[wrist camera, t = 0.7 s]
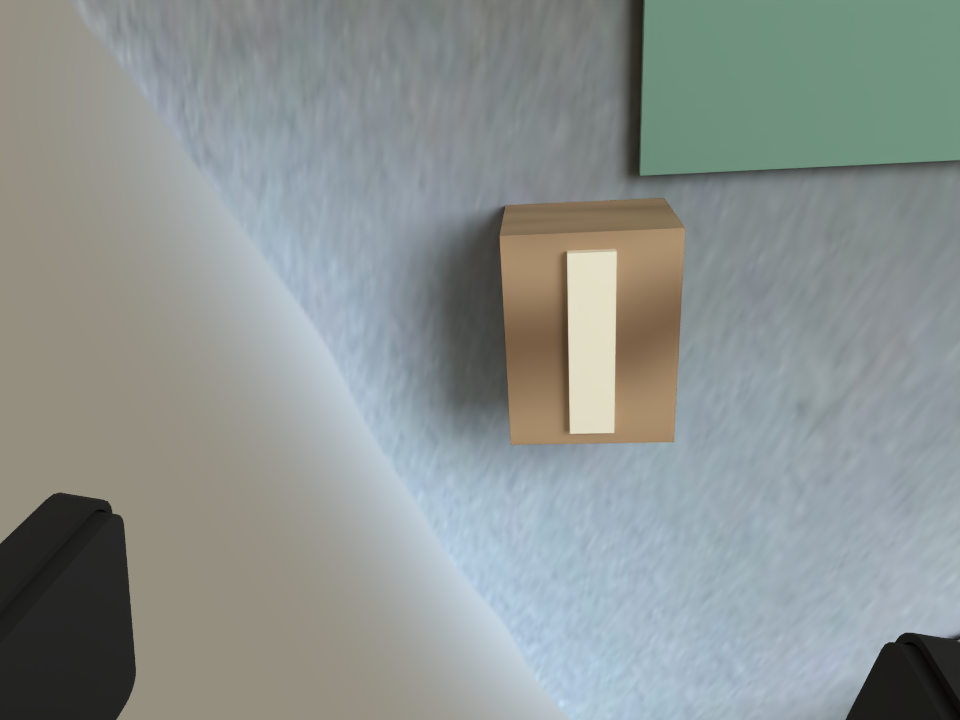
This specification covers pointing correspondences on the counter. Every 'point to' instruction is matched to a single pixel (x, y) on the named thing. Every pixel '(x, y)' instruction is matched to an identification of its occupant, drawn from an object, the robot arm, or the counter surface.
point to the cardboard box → (592, 320)
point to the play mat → (798, 84)
